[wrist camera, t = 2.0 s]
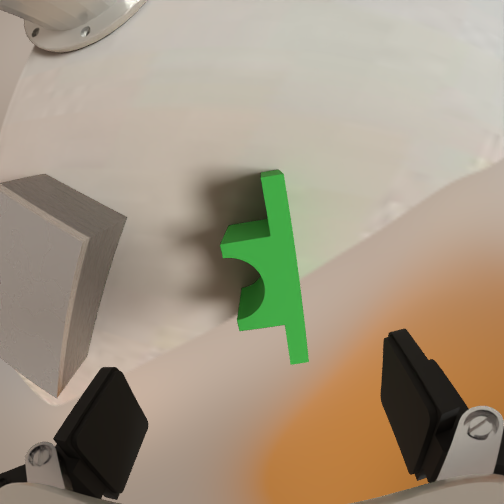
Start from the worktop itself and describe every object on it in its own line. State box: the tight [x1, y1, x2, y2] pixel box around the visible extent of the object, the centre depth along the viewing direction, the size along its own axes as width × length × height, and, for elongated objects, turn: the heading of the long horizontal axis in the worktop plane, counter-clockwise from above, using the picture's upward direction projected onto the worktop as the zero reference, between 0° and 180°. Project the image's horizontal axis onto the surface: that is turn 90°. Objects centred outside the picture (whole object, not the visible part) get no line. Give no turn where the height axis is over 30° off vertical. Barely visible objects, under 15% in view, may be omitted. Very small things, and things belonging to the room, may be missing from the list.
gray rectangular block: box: [0, 174, 127, 398], centre depth 18 cm, size 14×8×6 cm, turn 153°
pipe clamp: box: [220, 170, 309, 364], centre depth 18 cm, size 11×4×5 cm, turn 10°
